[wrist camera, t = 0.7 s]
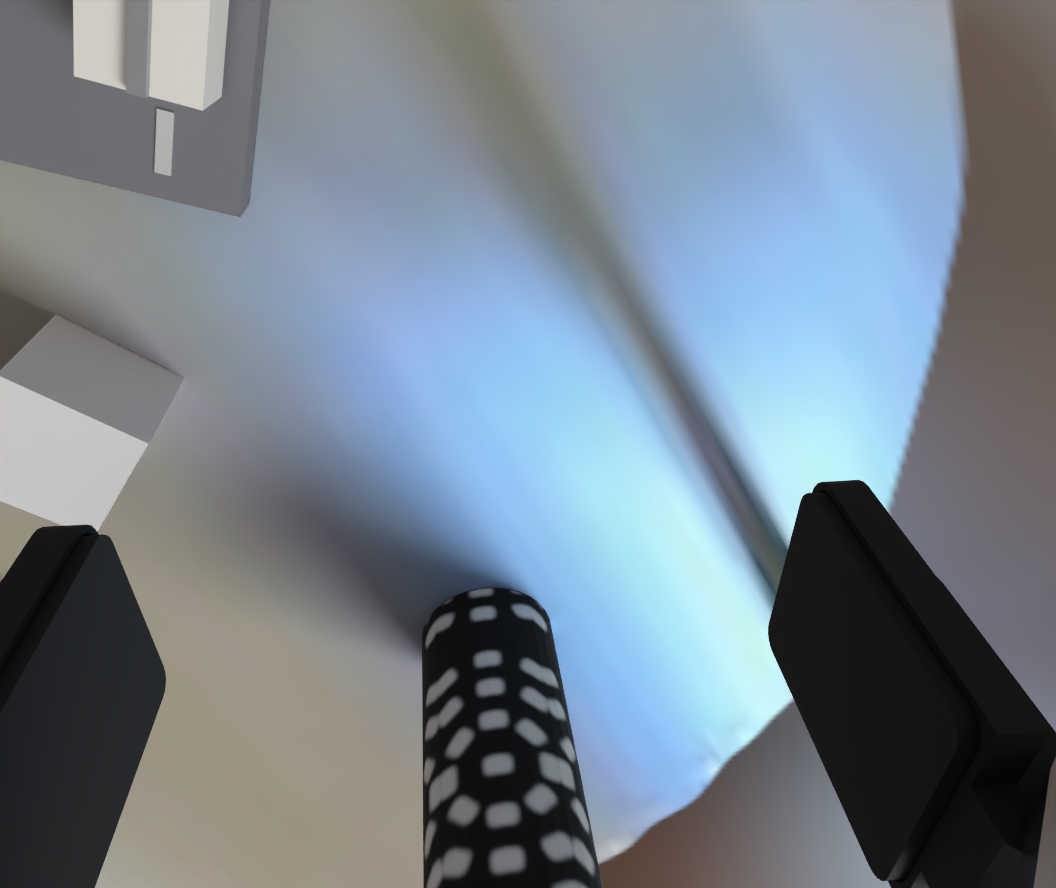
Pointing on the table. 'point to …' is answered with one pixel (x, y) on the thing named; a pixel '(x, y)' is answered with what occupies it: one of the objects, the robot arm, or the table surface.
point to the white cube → (76, 422)
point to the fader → (153, 47)
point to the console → (129, 113)
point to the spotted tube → (499, 751)
